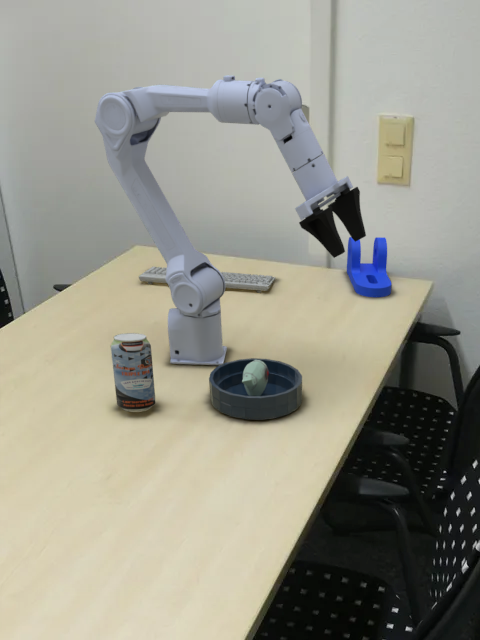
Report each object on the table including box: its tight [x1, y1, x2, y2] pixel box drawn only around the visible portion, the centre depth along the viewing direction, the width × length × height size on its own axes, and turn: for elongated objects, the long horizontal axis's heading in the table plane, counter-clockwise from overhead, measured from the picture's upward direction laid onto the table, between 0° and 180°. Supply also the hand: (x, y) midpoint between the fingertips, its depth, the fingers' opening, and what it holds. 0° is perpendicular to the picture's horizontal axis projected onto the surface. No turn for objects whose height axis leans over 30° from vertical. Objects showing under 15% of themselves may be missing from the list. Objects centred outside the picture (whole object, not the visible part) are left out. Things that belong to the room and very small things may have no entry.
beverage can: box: [110, 332, 157, 413], centre depth 123 cm, size 6×7×12 cm
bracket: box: [346, 236, 392, 298], centre depth 179 cm, size 18×8×9 cm, turn 9°
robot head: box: [242, 360, 269, 396], centre depth 129 cm, size 8×4×7 cm, turn 173°
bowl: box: [208, 357, 303, 421], centre depth 130 cm, size 15×15×4 cm
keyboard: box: [138, 266, 276, 294], centre depth 177 cm, size 29×10×2 cm, turn 86°
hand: (350, 246), depth 124 cm, fingers open, 7 cm apart
